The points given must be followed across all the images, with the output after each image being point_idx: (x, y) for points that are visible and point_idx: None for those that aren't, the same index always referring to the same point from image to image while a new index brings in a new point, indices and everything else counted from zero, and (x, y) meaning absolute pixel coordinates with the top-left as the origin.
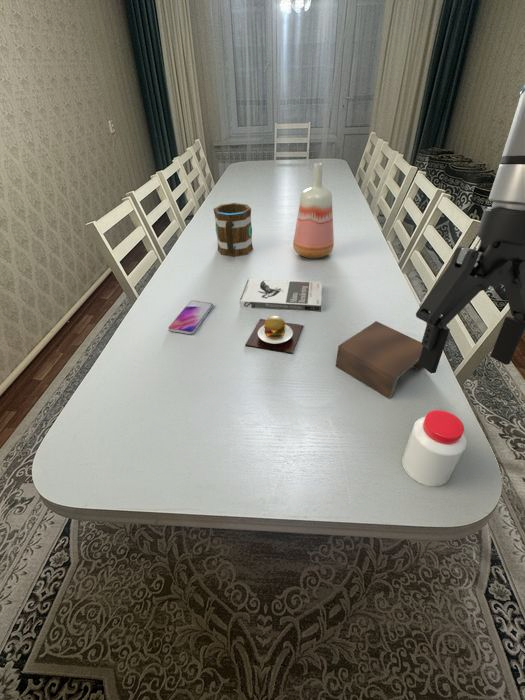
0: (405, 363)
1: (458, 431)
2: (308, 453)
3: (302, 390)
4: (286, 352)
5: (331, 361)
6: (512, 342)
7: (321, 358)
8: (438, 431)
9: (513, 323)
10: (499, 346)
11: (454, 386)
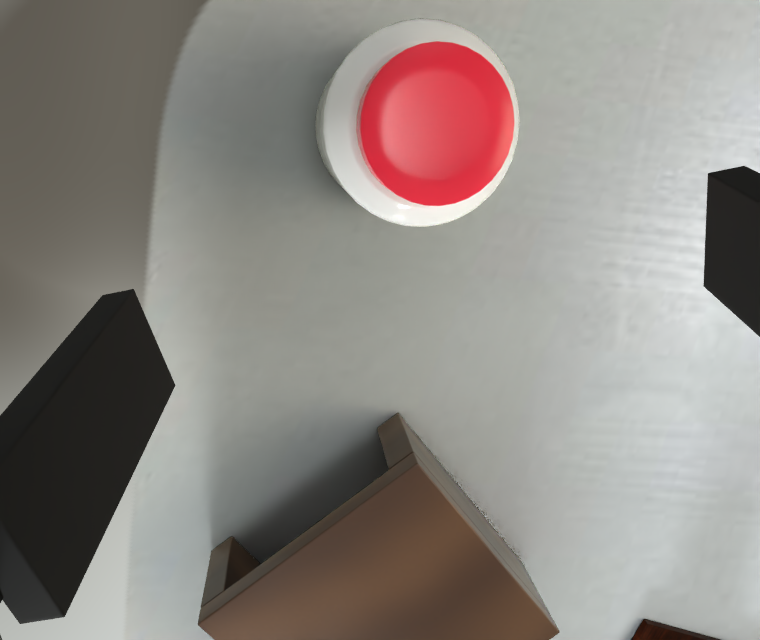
0: (345, 535)
1: (402, 73)
2: None
3: (662, 460)
4: (663, 626)
5: None
6: (78, 385)
7: (556, 600)
8: (485, 84)
9: (35, 530)
10: (135, 410)
11: None
